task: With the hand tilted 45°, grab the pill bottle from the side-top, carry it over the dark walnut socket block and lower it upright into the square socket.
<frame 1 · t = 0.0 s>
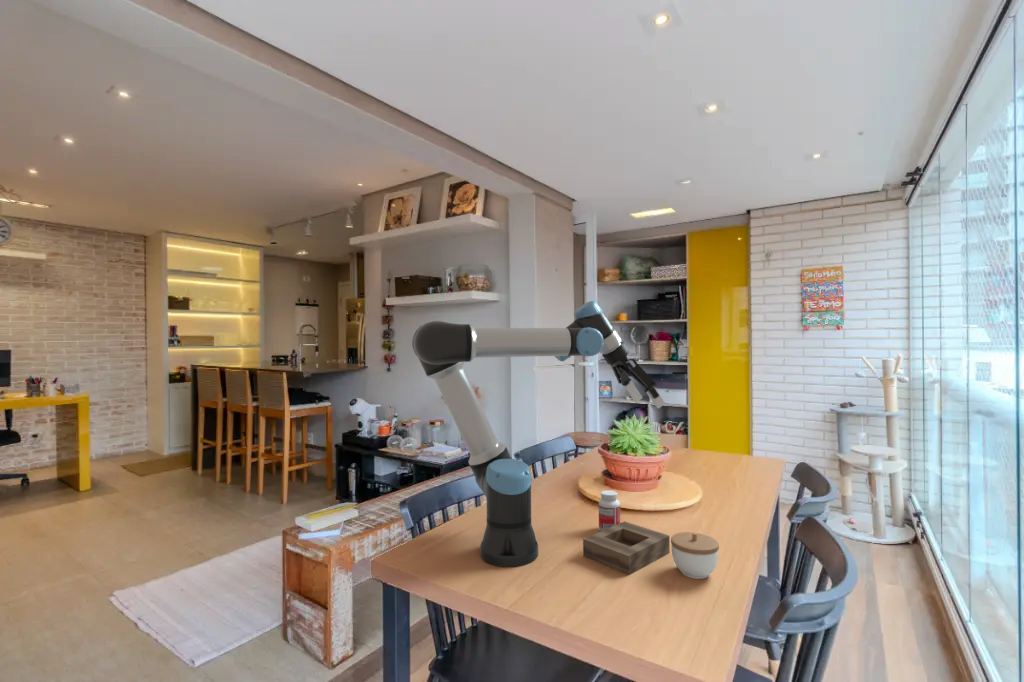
hand: (649, 402, 156), 36 cm above the table, tool tilted 35°, fingers open, 13 cm apart
pill bottle: (609, 531, 147), on the table
lidded jar: (694, 573, 121), on the table
socket block: (626, 554, 131), on the table
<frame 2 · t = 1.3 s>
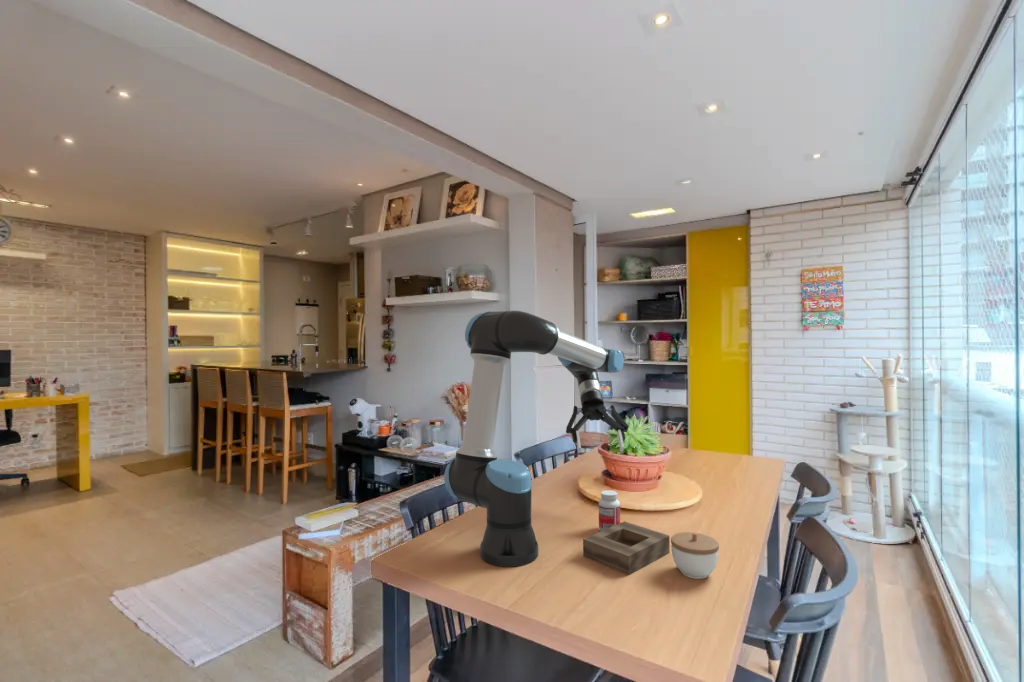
hand: (601, 450, 159), 21 cm above the table, tool tilted 45°, fingers open, 13 cm apart
nothing on the table moved.
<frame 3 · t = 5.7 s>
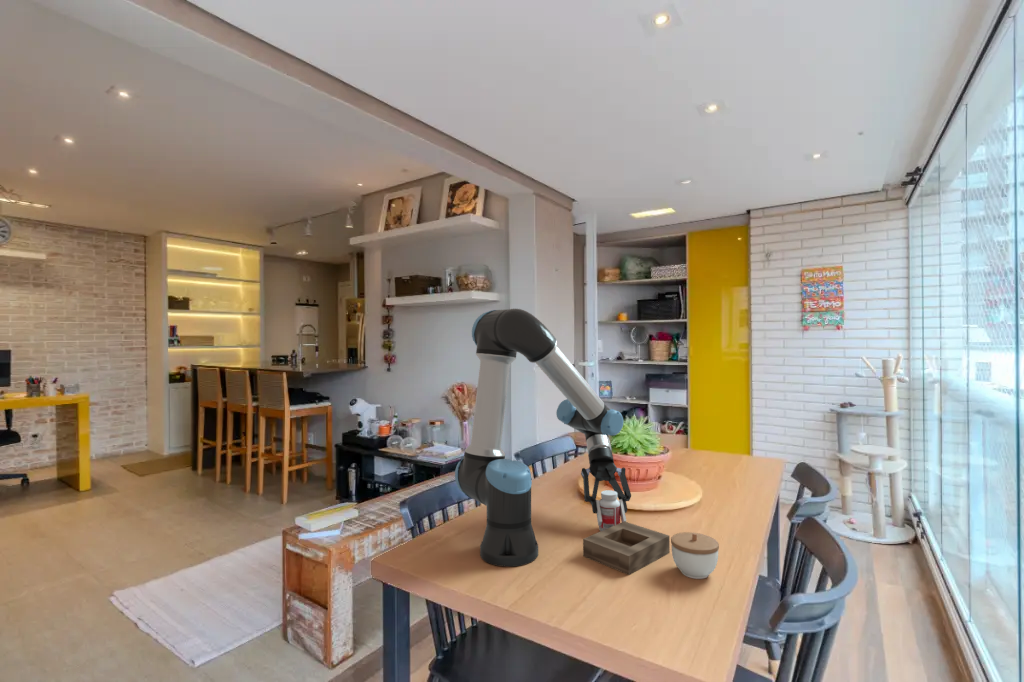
hand: (612, 523, 144), 3 cm above the table, tool tilted 45°, fingers closed on pill bottle, 6 cm apart
pill bottle: (609, 531, 147), on the table, touching gripper
everything else where it was.
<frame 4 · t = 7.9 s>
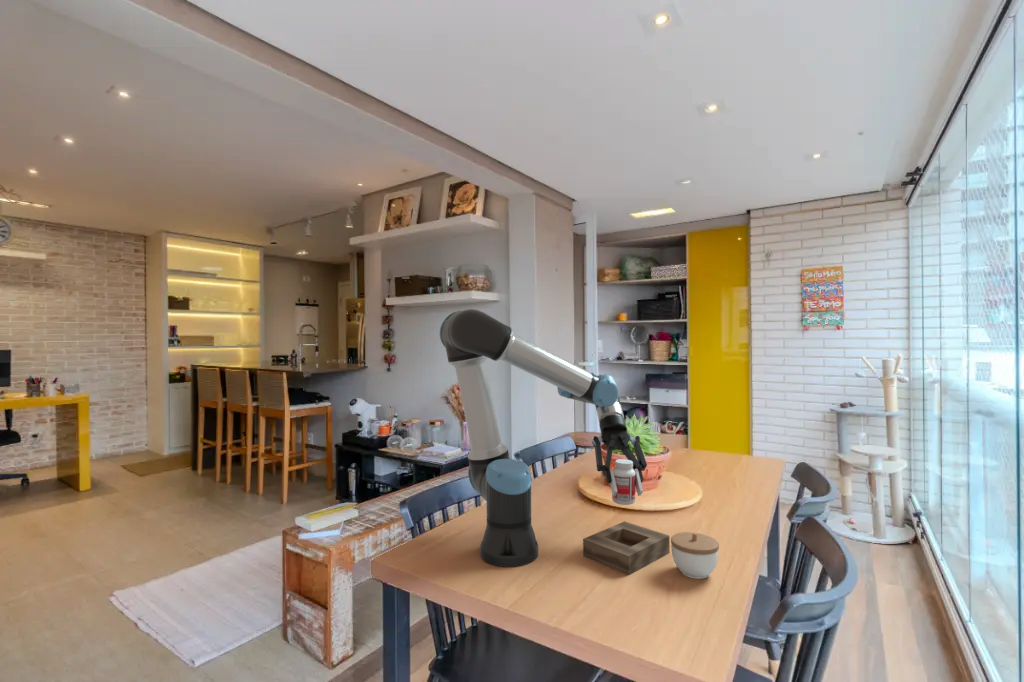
hand: (627, 493, 134), 15 cm above the table, tool tilted 45°, fingers closed on pill bottle, 6 cm apart
pill bottle: (623, 502, 138), point 11 cm above the table, touching gripper
everything else where it was.
when the fingers open (6 cm above the table, at t = 10.4 s): pill bottle drops 1 cm, resting on socket block.
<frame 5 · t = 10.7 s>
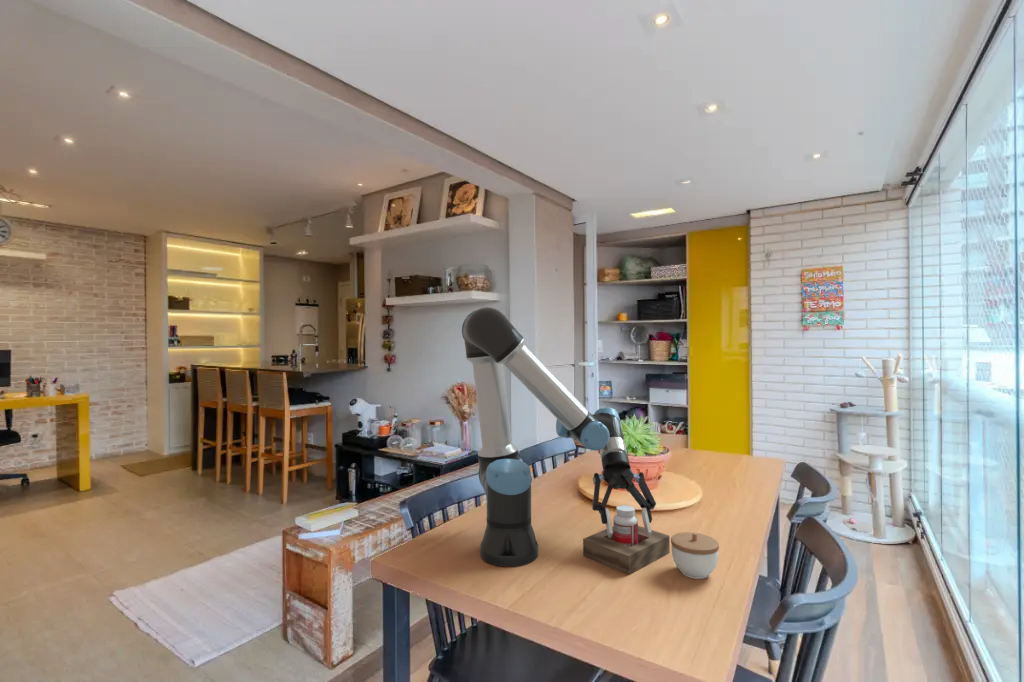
hand: (629, 535, 128), 6 cm above the table, tool tilted 45°, fingers open, 9 cm apart
pill bottle: (625, 551, 131), point 1 cm above the table, touching socket block
everything else where it was.
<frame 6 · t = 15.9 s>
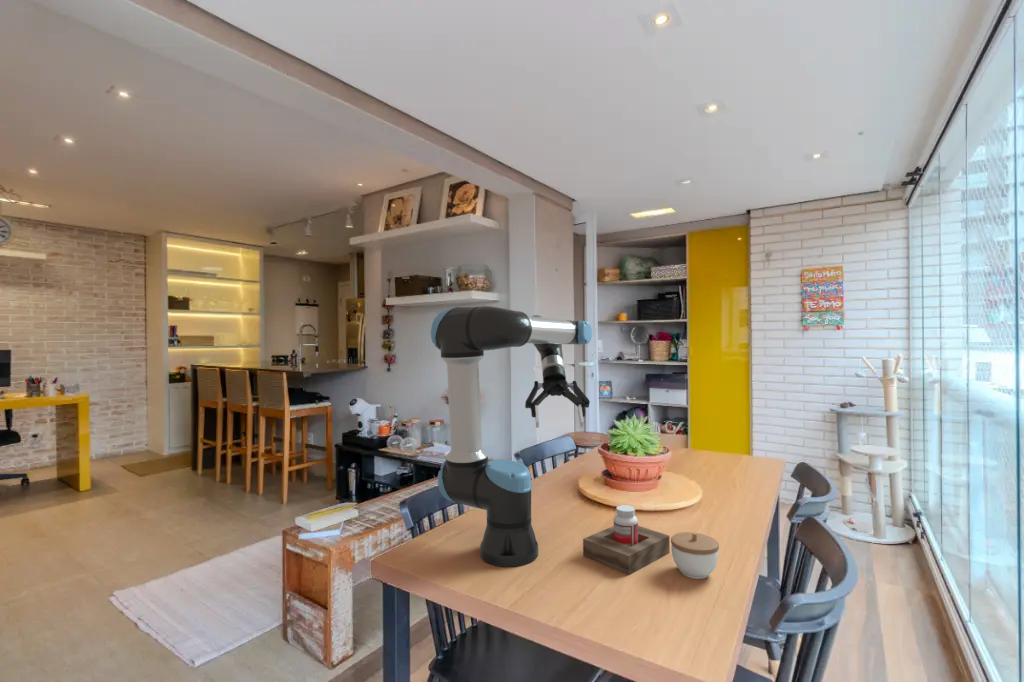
hand: (559, 424, 154), 30 cm above the table, tool tilted 45°, fingers open, 13 cm apart
nothing on the table moved.
at the end: pill bottle 0.2 cm off-centre on the socket block, point 0.8 cm above the socket block's base; pill bottle tilted 0°; the gripper is holding nothing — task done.
